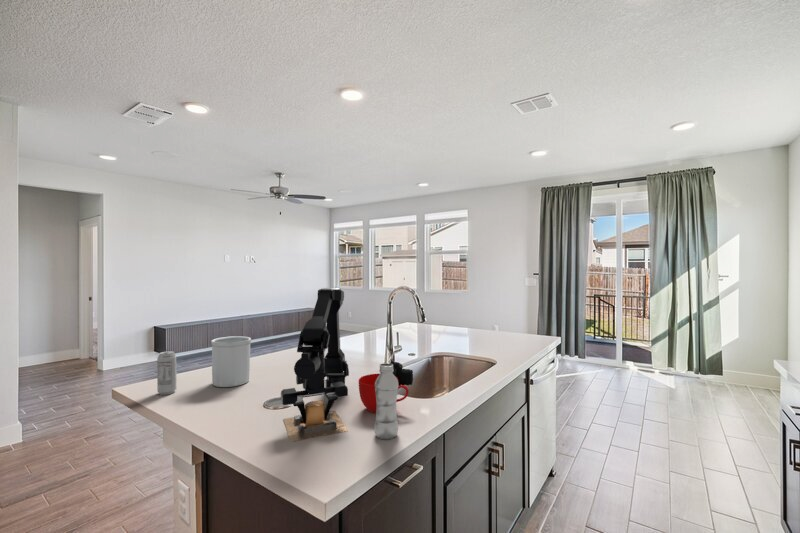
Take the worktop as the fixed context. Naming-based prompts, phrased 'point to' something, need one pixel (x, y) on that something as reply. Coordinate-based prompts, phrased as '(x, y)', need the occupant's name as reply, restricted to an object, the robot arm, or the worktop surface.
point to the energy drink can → (166, 372)
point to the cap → (314, 413)
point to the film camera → (402, 374)
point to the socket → (313, 427)
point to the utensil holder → (230, 361)
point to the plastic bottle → (386, 403)
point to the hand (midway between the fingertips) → (314, 421)
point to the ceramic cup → (372, 391)
